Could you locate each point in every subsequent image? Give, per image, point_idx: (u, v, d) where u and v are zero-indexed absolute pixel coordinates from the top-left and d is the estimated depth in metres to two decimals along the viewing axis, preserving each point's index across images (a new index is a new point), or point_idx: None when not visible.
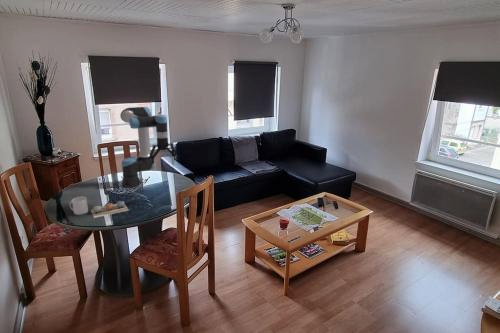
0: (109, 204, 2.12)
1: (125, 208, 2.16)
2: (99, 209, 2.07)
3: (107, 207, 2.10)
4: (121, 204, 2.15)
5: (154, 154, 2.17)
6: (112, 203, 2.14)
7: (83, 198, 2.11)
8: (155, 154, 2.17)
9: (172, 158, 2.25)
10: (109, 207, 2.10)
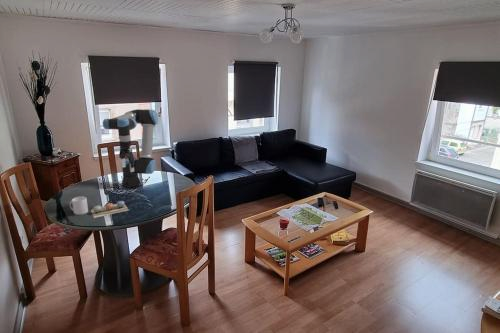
0: (109, 204, 2.12)
1: (125, 208, 2.16)
2: (99, 209, 2.07)
3: (107, 207, 2.10)
4: (121, 204, 2.15)
5: None
6: (112, 203, 2.14)
7: (83, 198, 2.11)
8: (121, 155, 2.23)
9: None
10: (109, 207, 2.10)
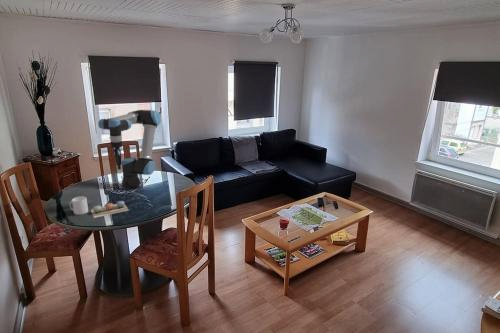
0: (109, 204, 2.12)
1: (125, 208, 2.16)
2: (99, 209, 2.07)
3: (107, 207, 2.10)
4: (121, 204, 2.15)
5: (116, 159, 2.21)
6: (112, 203, 2.14)
7: (83, 198, 2.11)
8: (115, 159, 2.20)
9: None
10: (109, 207, 2.10)
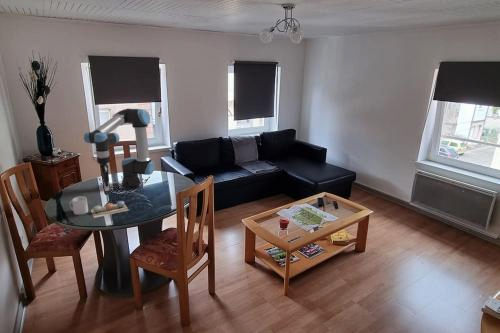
0: (109, 204, 2.12)
1: (125, 208, 2.16)
2: (99, 209, 2.07)
3: (107, 207, 2.10)
4: (121, 204, 2.15)
5: (104, 175, 2.07)
6: (112, 203, 2.14)
7: (83, 198, 2.11)
8: (102, 175, 2.06)
9: None
10: (109, 207, 2.10)
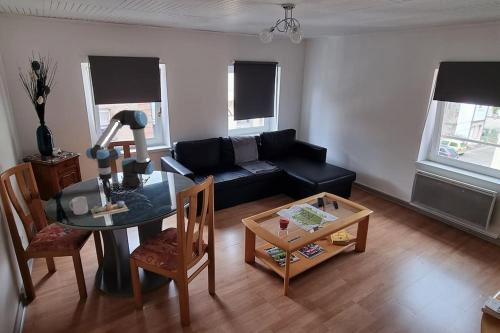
0: None
1: (125, 208, 2.16)
2: (99, 209, 2.07)
3: (107, 208, 2.10)
4: (121, 204, 2.15)
5: (106, 191, 2.10)
6: (111, 204, 2.14)
7: (83, 198, 2.11)
8: (104, 191, 2.10)
9: None
10: (109, 208, 2.11)
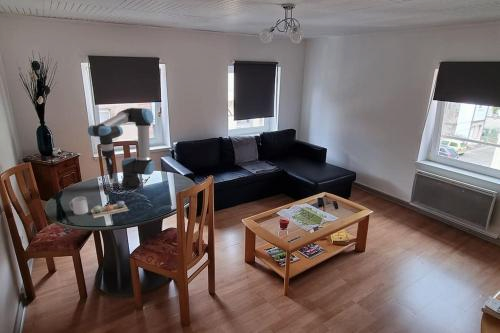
0: (109, 206, 2.13)
1: (125, 208, 2.16)
2: (99, 209, 2.07)
3: (107, 209, 2.11)
4: (121, 204, 2.15)
5: None
6: (112, 205, 2.14)
7: (83, 198, 2.11)
8: (107, 168, 2.10)
9: None
10: (109, 209, 2.11)
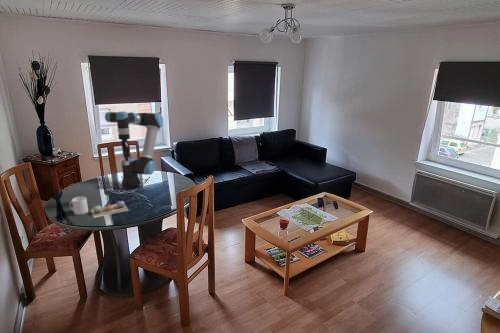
0: (109, 206, 2.13)
1: (125, 208, 2.16)
2: (99, 209, 2.07)
3: (107, 209, 2.11)
4: (121, 204, 2.15)
5: None
6: (112, 205, 2.14)
7: (83, 198, 2.11)
8: (123, 151, 2.26)
9: None
10: (109, 209, 2.11)
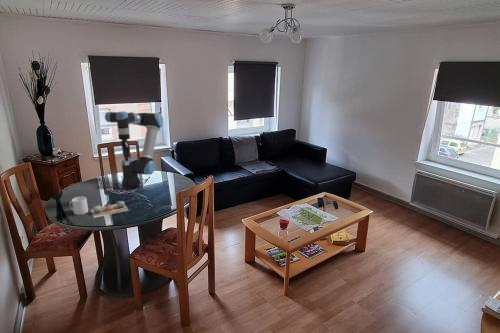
0: (109, 206, 2.13)
1: (125, 208, 2.16)
2: (99, 209, 2.07)
3: (107, 209, 2.11)
4: (121, 204, 2.15)
5: None
6: (112, 205, 2.14)
7: (83, 198, 2.11)
8: (123, 151, 2.26)
9: None
10: (109, 209, 2.11)
